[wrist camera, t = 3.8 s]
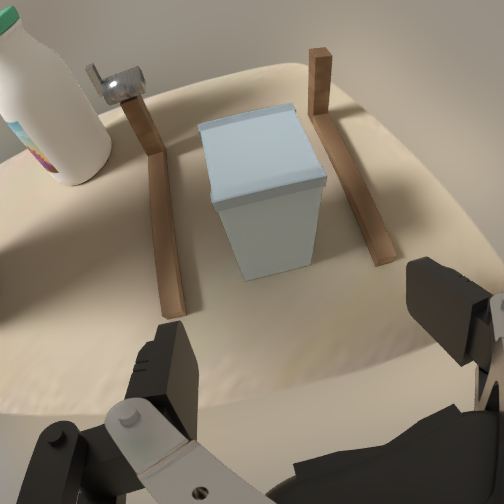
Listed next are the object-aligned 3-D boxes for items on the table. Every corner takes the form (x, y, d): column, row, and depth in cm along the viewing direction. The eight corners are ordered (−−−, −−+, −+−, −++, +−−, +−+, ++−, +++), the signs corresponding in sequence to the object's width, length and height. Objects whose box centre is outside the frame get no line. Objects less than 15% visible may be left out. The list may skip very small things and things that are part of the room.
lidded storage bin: (243, 283, 24) (211, 203, 14) (230, 222, 26) (197, 124, 16) (312, 265, 24) (327, 175, 14) (293, 207, 26) (292, 102, 16)
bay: (167, 319, 23) (117, 286, 16) (151, 153, 30) (121, 94, 23) (392, 261, 23) (430, 207, 16) (321, 112, 30) (325, 47, 23)
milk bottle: (114, 124, 33) (39, -16, 15) (113, 173, 30) (10, 11, 12) (60, 148, 33) (-25, 28, 15) (53, 198, 30) (-60, 68, 12)
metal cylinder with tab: (104, 113, 22) (83, 75, 18) (107, 97, 23) (88, 60, 19) (146, 98, 22) (128, 57, 18) (146, 82, 23) (130, 43, 19)
